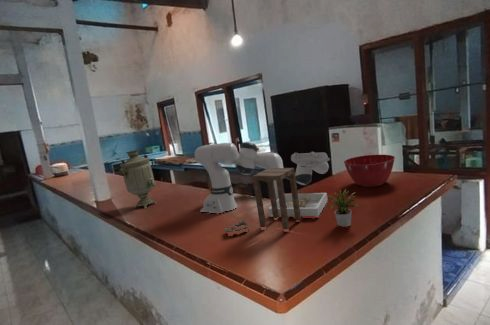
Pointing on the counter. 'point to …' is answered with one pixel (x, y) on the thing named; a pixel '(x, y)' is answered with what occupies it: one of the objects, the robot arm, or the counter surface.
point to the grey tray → (311, 207)
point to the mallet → (300, 202)
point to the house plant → (343, 208)
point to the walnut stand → (278, 175)
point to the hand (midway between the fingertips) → (303, 153)
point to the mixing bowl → (370, 169)
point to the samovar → (138, 177)
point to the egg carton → (237, 226)
